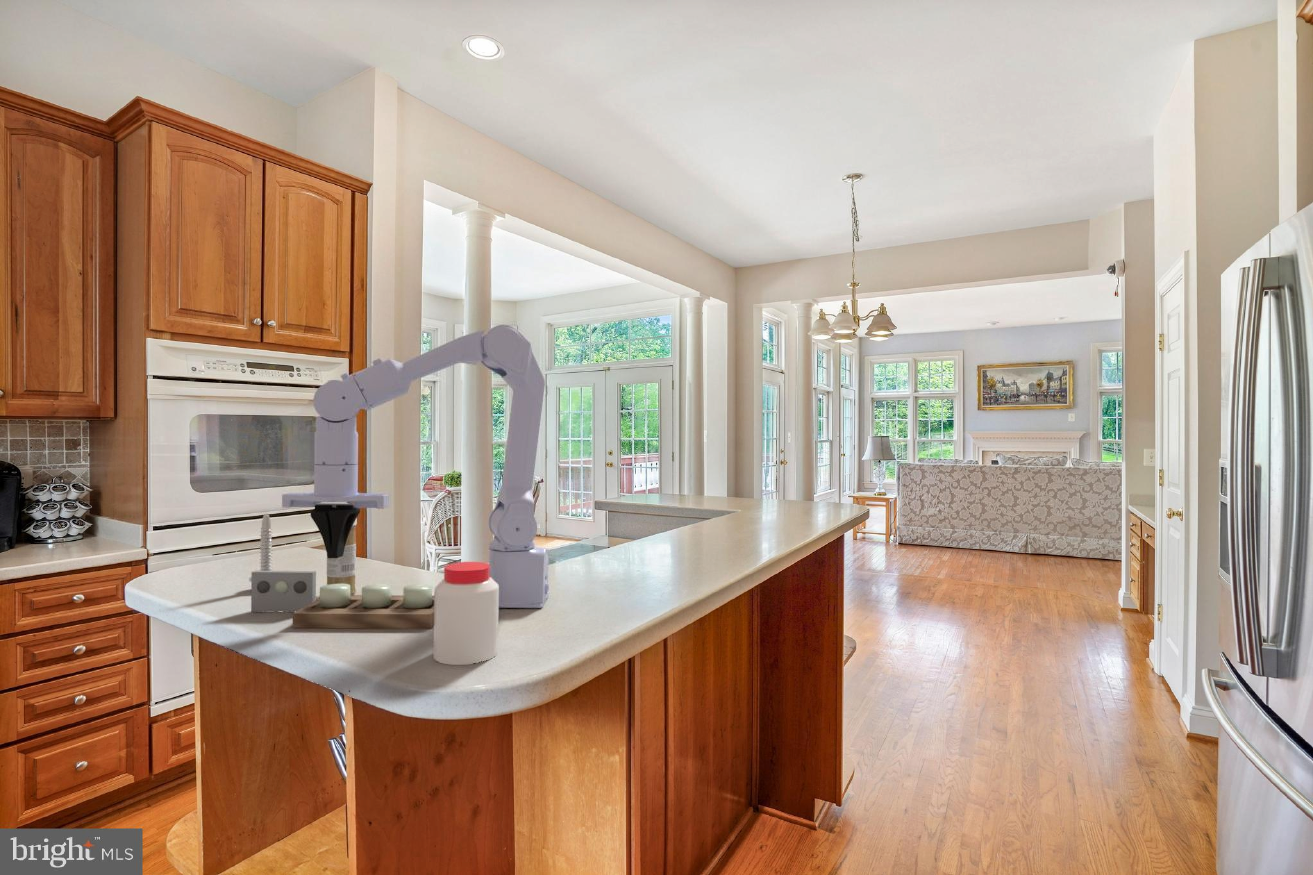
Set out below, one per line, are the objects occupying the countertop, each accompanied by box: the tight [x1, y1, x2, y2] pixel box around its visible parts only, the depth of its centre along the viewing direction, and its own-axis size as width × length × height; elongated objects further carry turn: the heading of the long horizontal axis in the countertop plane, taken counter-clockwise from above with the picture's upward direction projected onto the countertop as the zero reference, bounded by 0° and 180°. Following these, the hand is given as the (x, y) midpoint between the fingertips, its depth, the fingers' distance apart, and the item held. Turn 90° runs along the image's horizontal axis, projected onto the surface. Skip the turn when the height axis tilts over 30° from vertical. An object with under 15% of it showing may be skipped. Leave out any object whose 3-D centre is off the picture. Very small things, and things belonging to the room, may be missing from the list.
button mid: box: [361, 583, 392, 608], centre depth 94 cm, size 4×4×2 cm
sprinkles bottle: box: [326, 517, 358, 595], centre depth 107 cm, size 5×5×13 cm
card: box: [250, 570, 317, 613], centre depth 97 cm, size 9×1×6 cm, turn 92°
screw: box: [248, 513, 273, 583], centre depth 109 cm, size 13×5×5 cm
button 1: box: [319, 584, 350, 608], centre depth 94 cm, size 4×4×2 cm
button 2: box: [403, 583, 433, 608], centre depth 95 cm, size 4×4×2 cm
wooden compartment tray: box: [292, 594, 434, 630], centre depth 94 cm, size 19×10×2 cm, turn 92°
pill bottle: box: [432, 561, 500, 666], centre depth 80 cm, size 8×8×11 cm
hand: (335, 557), depth 94 cm, fingers closed
